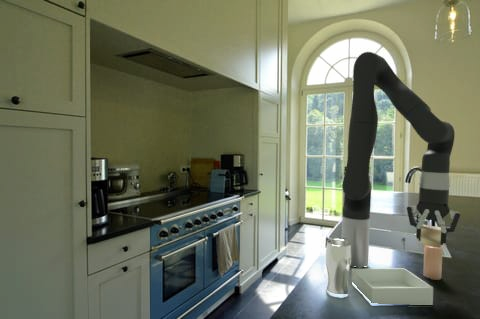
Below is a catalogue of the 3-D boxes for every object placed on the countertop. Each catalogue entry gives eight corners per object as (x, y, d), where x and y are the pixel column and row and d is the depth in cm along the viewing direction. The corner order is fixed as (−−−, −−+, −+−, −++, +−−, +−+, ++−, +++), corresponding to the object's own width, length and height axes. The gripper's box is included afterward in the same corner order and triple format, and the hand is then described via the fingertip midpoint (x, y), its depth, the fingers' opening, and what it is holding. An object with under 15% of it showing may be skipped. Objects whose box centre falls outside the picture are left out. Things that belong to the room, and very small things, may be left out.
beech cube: (440, 243, 91) (442, 227, 91) (439, 247, 87) (441, 231, 87) (422, 240, 94) (422, 224, 94) (420, 244, 90) (421, 227, 90)
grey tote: (371, 306, 79) (372, 288, 79) (351, 284, 92) (351, 268, 92) (432, 305, 80) (433, 287, 80) (404, 284, 93) (404, 268, 93)
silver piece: (330, 285, 91) (331, 237, 90) (353, 292, 87) (355, 242, 86) (320, 294, 86) (322, 242, 85) (345, 302, 81) (346, 248, 81)
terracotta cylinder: (425, 278, 97) (426, 248, 97) (421, 272, 102) (422, 243, 101) (443, 280, 96) (444, 250, 95) (438, 274, 100) (439, 245, 100)
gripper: (463, 188, 88) (459, 244, 89) (408, 183, 97) (405, 234, 98) (463, 191, 82) (459, 251, 83) (405, 185, 91) (402, 240, 92)
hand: (430, 242), depth 91 cm, fingers closed on beech cube, 5 cm apart
